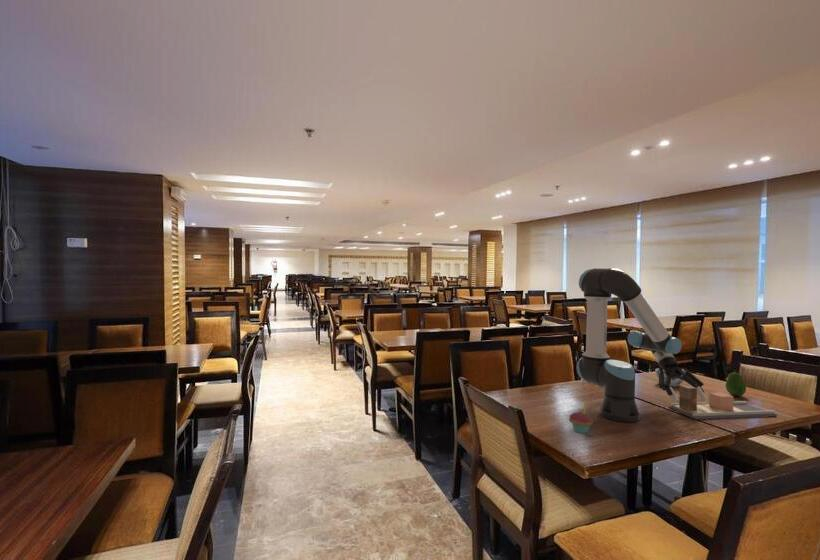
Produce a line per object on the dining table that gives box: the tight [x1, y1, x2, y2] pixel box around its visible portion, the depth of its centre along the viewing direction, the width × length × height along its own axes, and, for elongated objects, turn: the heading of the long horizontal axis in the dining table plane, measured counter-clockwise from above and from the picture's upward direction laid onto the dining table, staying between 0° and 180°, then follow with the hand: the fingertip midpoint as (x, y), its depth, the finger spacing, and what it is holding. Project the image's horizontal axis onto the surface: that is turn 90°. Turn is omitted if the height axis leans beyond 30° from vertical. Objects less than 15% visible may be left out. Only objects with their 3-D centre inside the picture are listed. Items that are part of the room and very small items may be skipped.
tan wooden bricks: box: [674, 384, 744, 415], centre depth 174 cm, size 26×10×11 cm, turn 95°
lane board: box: [668, 400, 778, 420], centre depth 175 cm, size 38×15×2 cm, turn 95°
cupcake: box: [568, 402, 594, 434], centre depth 153 cm, size 9×8×12 cm
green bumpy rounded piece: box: [725, 371, 747, 397], centre depth 199 cm, size 8×8×12 cm
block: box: [708, 391, 734, 410], centre depth 175 cm, size 6×6×6 cm
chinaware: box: [654, 367, 685, 387], centre depth 220 cm, size 15×15×8 cm
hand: (691, 401), depth 172 cm, fingers open, 13 cm apart
